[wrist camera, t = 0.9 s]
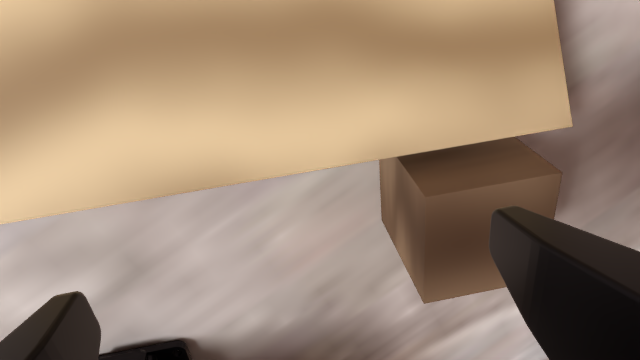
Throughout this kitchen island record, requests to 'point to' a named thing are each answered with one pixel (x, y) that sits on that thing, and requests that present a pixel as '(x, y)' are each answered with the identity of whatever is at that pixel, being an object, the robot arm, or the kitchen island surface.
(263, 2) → the plank
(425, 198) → the block
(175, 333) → the kitchen island surface
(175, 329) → the kitchen island surface
